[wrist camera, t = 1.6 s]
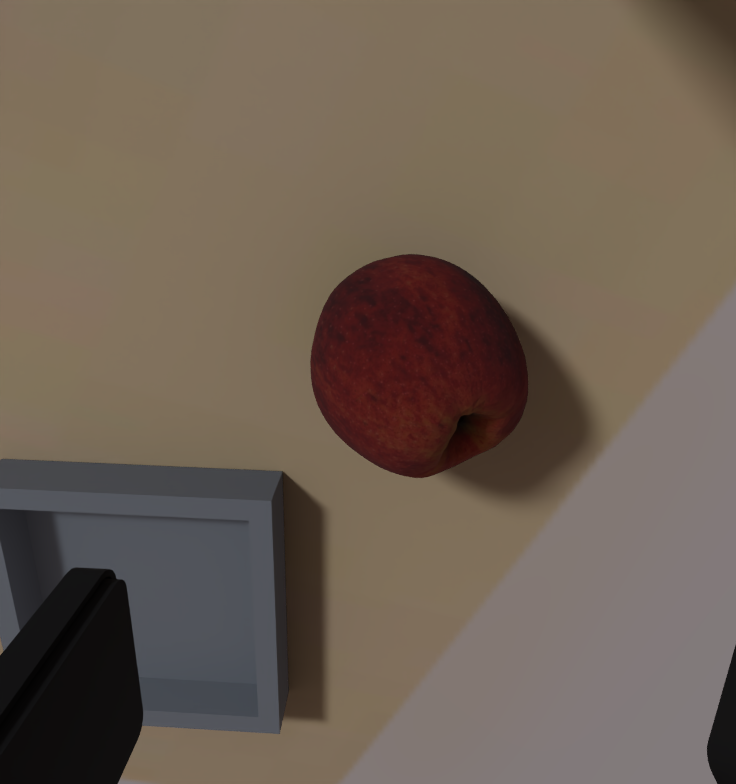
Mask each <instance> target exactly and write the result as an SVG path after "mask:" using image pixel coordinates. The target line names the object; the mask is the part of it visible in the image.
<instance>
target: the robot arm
mask: <svg viewBox="0 0 736 784" xmlns="http://www.w3.org/2000/svg"><path fill="white" fill-rule="evenodd" d="M142 722H143V705H142V697H141V690H140V682H139V675H138V667H137V660H136V652H135V645H134V637H133V630H132V622H131V615H130V607H129V600H128V592H127V586H126V583H125V581H124V580H122V579H116V575H115V573H114V571H113V570H111V569H99V568H79V567H75V568H72V569H71V570H70V571H68V572H67V573H66V575H65V576H64V577H63V578H62V580H61V581H60V582H59V583H58V585H57V586H56V587H55V588H54V590H53V591H52V592H51V593H50V595H49V596H48V597H47V598H46V599H45V601H44V602H43V603H42V604H41V606H40V607H39V608H38V609H37V611H36V612H35V613H34V614H33V616H32V617H31V618H30V619H29V621H28V622H27V623H26V624H25V625H24V627H23V628H22V629H21V630H20V632H19V633H18V634H17V635H16V637H15V638H14V639H13V640H12V642H11V643H10V644H9V645H8V647H7V648H6V649H5V650H4V652H3V653H2V654H1V655H0V784H118V782H119V780H120V777H121V775H122V773H123V771H124V768H125V766H126V764H127V762H128V760H129V757H130V755H131V753H132V751H133V749H134V746H135V744H136V742H137V740H138V737H139V735H140V731H141V728H142ZM707 755H708V762H709V766H710V769H711V771H712V773H713V775H714V778H715V779H716V781H717V784H736V646H735V649H734V653H733V656H732V660H731V664H730V667H729V670H728V674H727V678H726V681H725V684H724V688H723V691H722V695H721V699H720V702H719V705H718V709H717V713H716V716H715V720H714V723H713V726H712V730H711V733H710V737H709V741H708V745H707Z"/></svg>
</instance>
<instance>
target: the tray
mask: <svg viewBox="0 0 736 784" xmlns="http://www.w3.org/2000/svg"><path fill="white" fill-rule="evenodd" d="M75 567H79V568H99V569H111V570H113V571H114V573H115V575H116V579H122V580H124V581H125V583H126V586H127V592H128V600H129V607H130V615H131V622H132V630H133V637H134V645H135V652H136V660H137V667H138V675H139V682H140V690H141V697H142V705H143V722H142V725H143V726H159V727H175V728H192V729H208V730H225V731H241V732H258V733H274V734H280V730H281V725H282V720H283V716H284V711H285V706H286V701H287V697H288V692H289V687H288V652H287V616H286V581H285V545H284V510H283V474H282V471H262V470H240V469H217V468H195V467H172V466H150V465H127V464H105V463H82V462H60V461H38V460H15V459H2V460H0V637H1V642H2V646H3V650H5V649H6V648H7V647H8V645H9V644H10V643H11V642H12V640H13V639H14V638H15V637H16V635H17V634H18V633H19V632H20V630H21V629H22V628H23V627H24V625H25V624H26V623H27V622H28V621H29V619H30V618H31V617H32V616H33V614H34V613H35V612H36V611H37V609H38V608H39V607H40V606H41V604H42V603H43V602H44V601H45V599H46V598H47V597H48V596H49V595H50V593H51V592H52V591H53V590H54V588H55V587H56V586H57V585H58V583H59V582H60V581H61V580H62V578H63V577H64V576H65V575H66V573H67V572H68V571H70V570H71V569H72V568H75Z"/></svg>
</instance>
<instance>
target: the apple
mask: <svg viewBox="0 0 736 784" xmlns="http://www.w3.org/2000/svg"><path fill="white" fill-rule="evenodd" d="M311 380H312V387H313V391H314V395H315V398H316V401H317V404H318V406H319V408H320V410H321V412H322V414H323V416H324V418H325V419H326V421H327V422H328V424H329V425H330V427H331V428H332V429H333V430H334V432H335V433H336V434H337V435H338V436H339V437H340V438H341V439H342V440H343V441H344V442H345V443H346V444H347V445H348V446H349V447H351V448H352V449H353V450H355V451H356V452H357V453H359V454H360V455H361V456H363V457H364V458H366V459H367V460H369V461H370V462H372V463H374V464H375V465H377V466H379V467H381V468H383V469H385V470H388V471H390V472H393V473H396V474H399V475H402V476H408V477H413V478H424V477H429V476H432V475H435V474H437V473H440V472H442V471H444V470H447V469H449V468H451V467H454V466H456V465H458V464H460V463H462V462H464V461H466V460H468V459H470V458H472V457H474V456H476V455H478V454H480V453H483V452H485V451H487V450H489V449H491V448H493V447H495V446H496V445H497V444H499V443H500V442H501V441H502V440H503V439H505V438H506V437H507V436H508V435H509V434H510V433H511V432H512V431H513V430H514V428H515V427H516V425H517V424H518V422H519V421H520V419H521V417H522V414H523V411H524V408H525V405H526V402H527V396H528V373H527V366H526V360H525V356H524V352H523V349H522V346H521V343H520V341H519V339H518V336H517V334H516V332H515V330H514V328H513V326H512V324H511V322H510V320H509V318H508V317H507V315H506V313H505V312H504V310H503V309H502V307H501V306H500V304H499V303H498V301H497V300H496V299H495V298H494V297H493V296H492V294H491V293H490V292H489V291H488V290H487V289H486V288H485V287H484V286H483V285H482V284H481V283H480V282H479V281H478V280H477V279H476V278H474V277H473V276H472V275H471V274H469V273H468V272H466V271H465V270H463V269H461V268H460V267H458V266H456V265H454V264H452V263H450V262H447V261H445V260H442V259H439V258H435V257H430V256H424V255H415V254H408V255H399V256H394V257H390V258H385V259H382V260H378V261H374V262H372V263H370V264H368V265H365V266H363V267H362V268H360V269H358V270H356V271H355V272H354V273H352V274H351V275H349V276H348V277H347V278H346V279H345V280H343V281H342V282H341V283H340V284H339V285H338V286H337V287H336V288H335V289H334V290H333V292H332V293H331V294H330V296H329V298H328V300H327V302H326V304H325V305H324V308H323V310H322V313H321V315H320V318H319V321H318V324H317V328H316V332H315V336H314V341H313V346H312V351H311Z"/></svg>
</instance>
